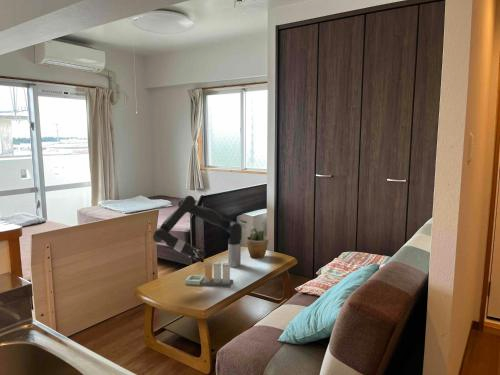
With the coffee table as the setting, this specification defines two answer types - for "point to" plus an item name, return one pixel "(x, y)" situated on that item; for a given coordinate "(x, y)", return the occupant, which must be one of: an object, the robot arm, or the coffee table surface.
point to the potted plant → (257, 243)
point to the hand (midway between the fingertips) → (204, 258)
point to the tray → (194, 280)
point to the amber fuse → (208, 270)
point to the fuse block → (217, 283)
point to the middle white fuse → (217, 271)
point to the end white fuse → (226, 271)
